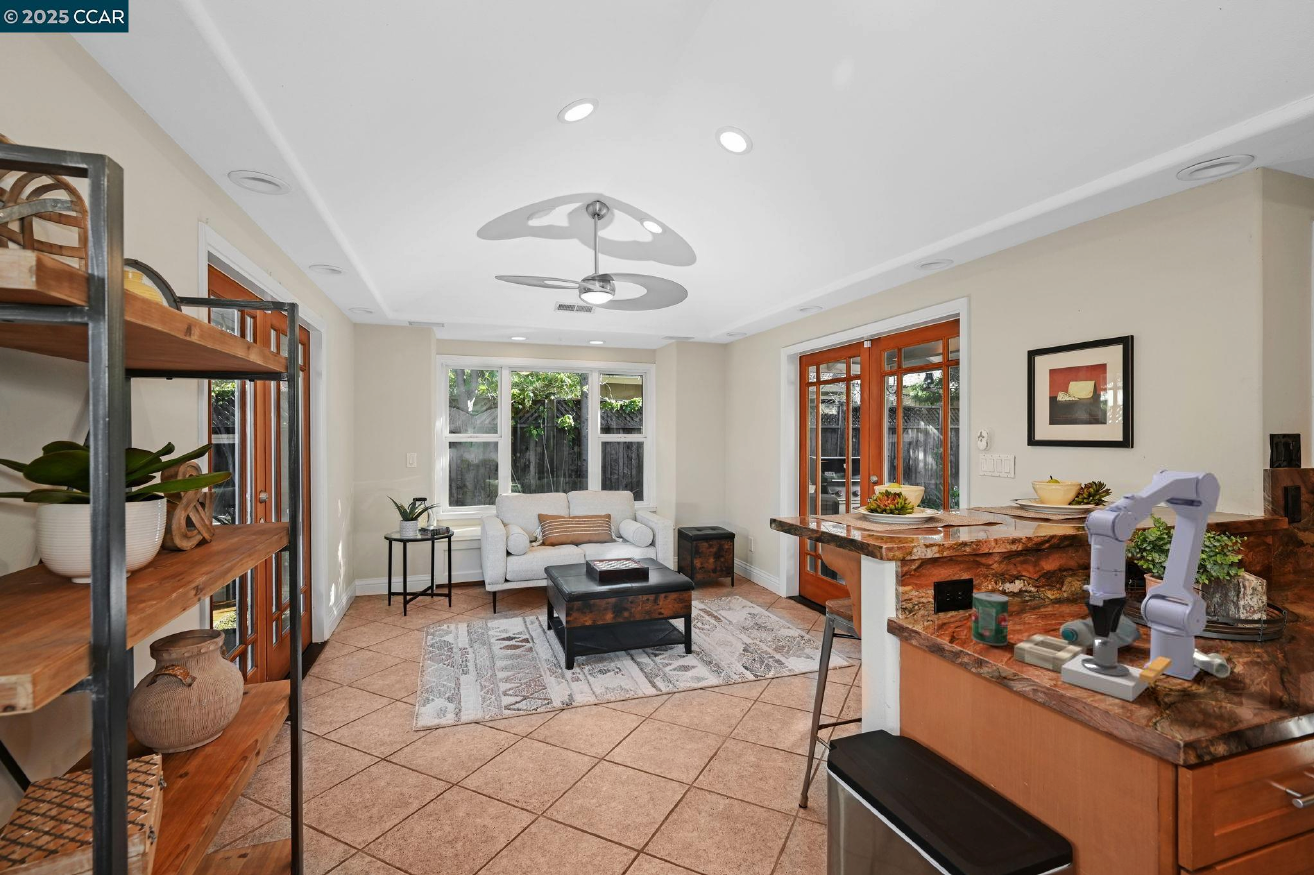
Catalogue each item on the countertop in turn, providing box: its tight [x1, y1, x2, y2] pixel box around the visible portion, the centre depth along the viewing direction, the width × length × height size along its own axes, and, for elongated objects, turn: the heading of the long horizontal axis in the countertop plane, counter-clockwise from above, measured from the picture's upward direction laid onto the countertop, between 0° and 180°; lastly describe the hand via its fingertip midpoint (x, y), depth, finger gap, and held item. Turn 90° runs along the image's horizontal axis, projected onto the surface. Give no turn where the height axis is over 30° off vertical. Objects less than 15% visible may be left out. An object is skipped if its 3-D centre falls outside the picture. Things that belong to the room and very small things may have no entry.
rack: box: [1013, 633, 1087, 673], centre depth 139 cm, size 14×10×3 cm
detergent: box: [1059, 614, 1143, 650], centre depth 147 cm, size 13×7×25 cm
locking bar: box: [1139, 656, 1171, 684], centre depth 122 cm, size 15×2×1 cm, turn 129°
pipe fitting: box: [1194, 648, 1231, 679], centre depth 134 cm, size 8×4×7 cm
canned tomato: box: [971, 591, 1010, 646], centre depth 151 cm, size 8×8×11 cm
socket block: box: [1060, 654, 1149, 702], centre depth 126 cm, size 12×12×3 cm
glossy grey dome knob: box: [1081, 637, 1129, 676], centre depth 126 cm, size 8×8×9 cm
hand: (1105, 633), depth 126 cm, fingers open, 5 cm apart
